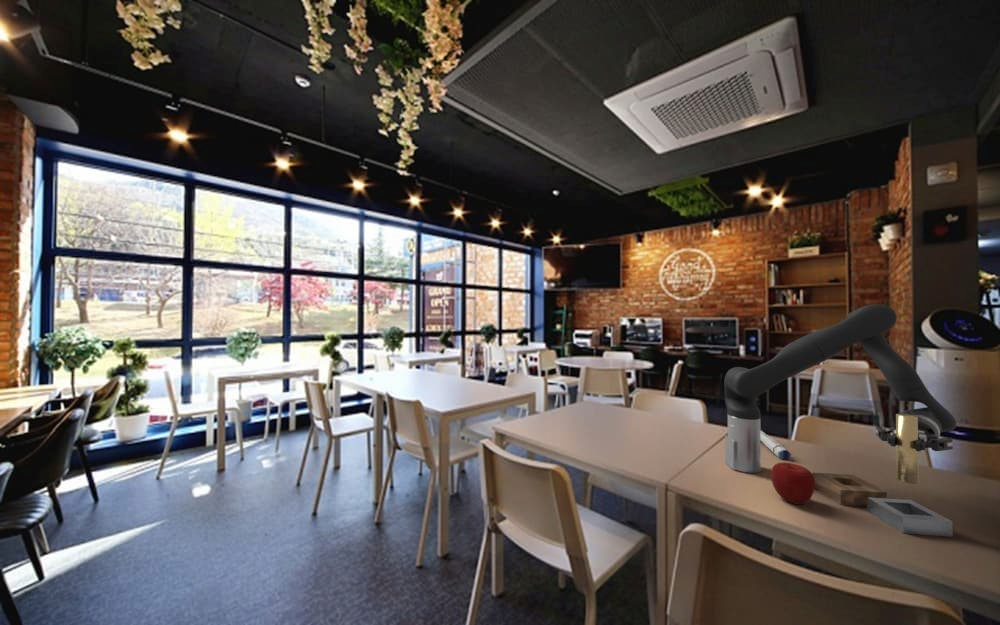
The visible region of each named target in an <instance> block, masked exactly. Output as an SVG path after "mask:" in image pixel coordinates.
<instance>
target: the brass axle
mask: <svg viewBox="0 0 1000 625" xmlns="http://www.w3.org/2000/svg"><path fill="white" fill-rule="evenodd" d="M895 425H896V441H897V445H896V446H895V447H896V480H898V481H900V482H902V483H906V484H911V485H918V484H920V483H919V482H920V480H919V475H920V472H919V468H920V467H919V451H916V441H917V440H918V417H917V416H913V415H908V414H901V413H896V414H895Z"/></svg>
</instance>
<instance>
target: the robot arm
mask: <svg viewBox="0 0 1000 625" xmlns="http://www.w3.org/2000/svg"><path fill="white" fill-rule="evenodd" d="M897 316H898V315H897V314H896V311H895V310H894V309H893V308H891V307H889V306H888V305H884V304H868V305H865V306H862V307H860V308H856V309H855V310H853V311H851V312H849V313H848V314H847V316H846V318H845V319H844V320H842V321H840V322H838V323H835V324H834V325H829V326H827V327H825V328H823V329H819V330H816V331H814V332H811V333H808V334H806V335H804V336H802V337H800V338H798V339H796V340H794V341H792V342H790V343H788V344H786V345H785V346H784V347H783V348H781V350H779V352H778V353H777V354H776V355H775V356H774V357H773V358H772V359H770V360H768V361H767V362H764V363H762V364H759V365H757V366H754V367H752V368H750V369H749V368H746V367H744V366H743V367H741V366H735V367H732V368H730V369H728V370H727V372H726V374H725V376H724V381H723V382H724V386H723V387H724V403H725V406H726V410H727V435H725V436H724V461H725V462H724V463H725V464H726V465H727V466H728V467H730V469H731V470H734V471H739V472H742V473H743V472H744V473H750V474H754V473H760V472H761V466H762V463H761V460H762V458H761V457H762V456H761V454H762V453H761V452H762V451H761V445H762V444H761V440H760V430H761V410H760V408H759V406H758V404H757V403H756V399H755V397H759V396H761V395H762V394H764V393H765V392H767V391H768V390H770V389H772V388H774V387H775V386H777V385H778V384H779V383H782V382H784V381H785V380H787V379H789V378H792V377H793V376H796V375H798V374H800V373H802V372H804V371H806V370H809V369H811V368H813V367H815V366H817V365H820V364H821V363H824V362H825V361H828V360H829V359H831V358H833V357H834V356H837V355H838V354H840V353H841V352H843V351H844V350H847V349H848V348H850V347H852V346H853V345H855V344H857V343H859V344H860V345H861V346H862V348H863V349H864V350H865V351H866V353H867V354H868V356H870V358H871V360H873V362H874V363H875V364H876V366H877V367H878V369H879V370H880V372H881V373H882V376H883V377H884V378H885V381H886V382H887V383H888V385H889V387H890V388H891V391H892V392H893V394H894V396H895V397H896V399H897V400H898V401H901V402H906V403H907V402H911V403H912V402H913V403H914V402H915V403H920V404H923V405H925V407H919V408H913V409H907V410H904V411H901V413H900V414H908V415H913V416H917V417H918V440H917V441H916V451H918V453H919V452H921V451H927V450H928V449H931V450H932V451H934V452H941V451H942V452H943V451H950V450H953V449H954V442H953V440H954V439H953V438H952V437H941V436H940V435H941V433H943V432H944V433H945V432H952V431H953V430H955V429H956V428H957V420H956V418H955V416H953V414H952V413H951V412H950V411H949V410H948V409H947V408H946V407H944V405H942V404H941V403H940V401H938V400H937V399H936V398H935V397H934V396H933V395H932V394H931V393H930V390H928V388H927V387H926V385H925V384H924V382H923V380H922V378H921V377H920V375H919V374H918V373H917V371H916V370H915V368H914V367H913V366H912V365H911V364H910V363H909V362H907V360H906V359H905V358H903V357H902V356H901V355H900V354H899V353H897V352H896V351H895V350H894V349H893V347H891V345H890V344H889V342H888V341H887V340H886V337H885V335H884V334H883V333H886V332H889V331H890V330H891V329H892V328H893V327H894V326H895V325H896V323H897V320H898V317H897ZM875 435H876V437H877V438H878V439H879V440H881V441H882V442H886V443H887V444H888V445H890V447H897V446H896V445H897V441H896V424H895V426H894V427H891V428H889V429H886V427H883V426H881V425H875Z"/></svg>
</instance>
